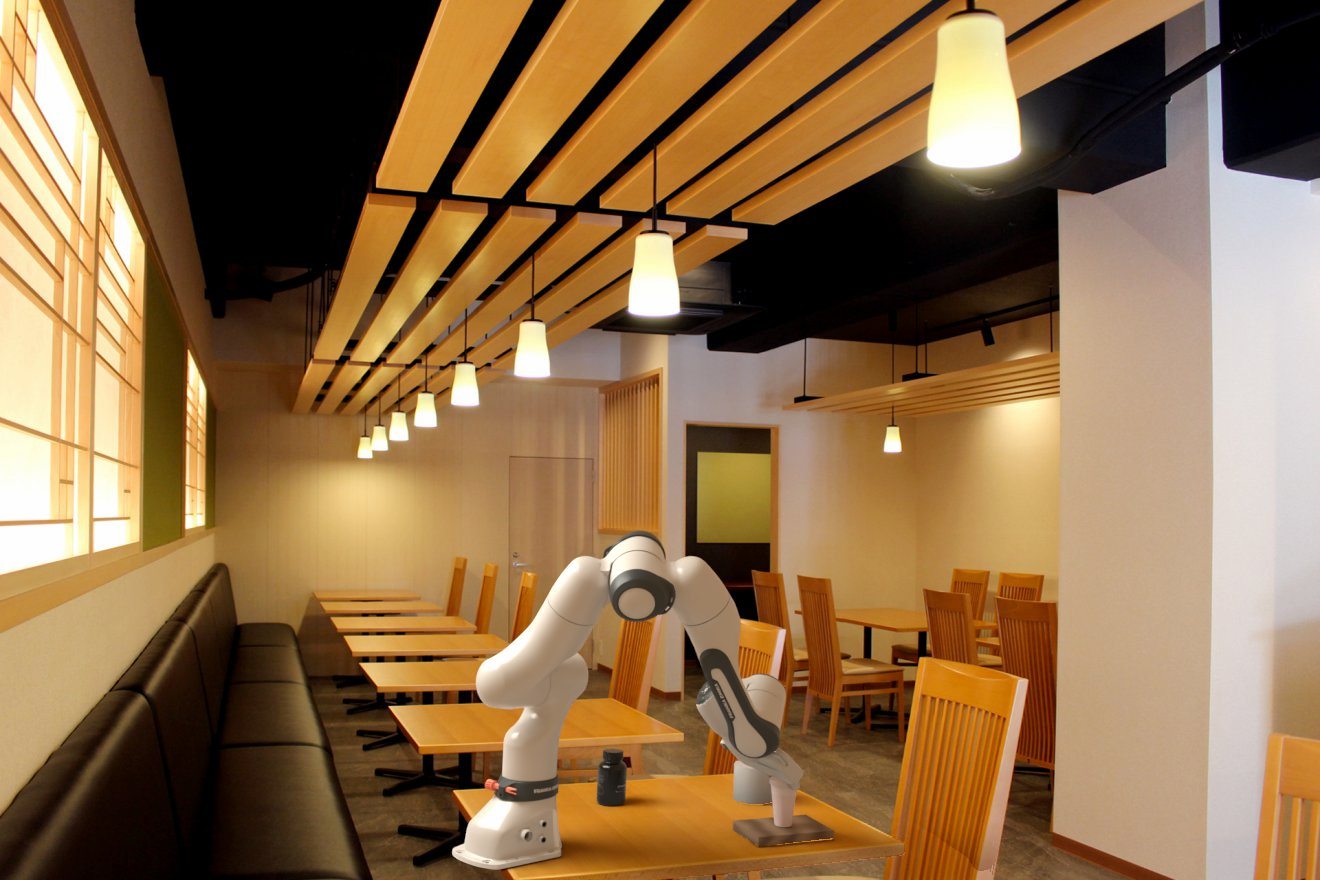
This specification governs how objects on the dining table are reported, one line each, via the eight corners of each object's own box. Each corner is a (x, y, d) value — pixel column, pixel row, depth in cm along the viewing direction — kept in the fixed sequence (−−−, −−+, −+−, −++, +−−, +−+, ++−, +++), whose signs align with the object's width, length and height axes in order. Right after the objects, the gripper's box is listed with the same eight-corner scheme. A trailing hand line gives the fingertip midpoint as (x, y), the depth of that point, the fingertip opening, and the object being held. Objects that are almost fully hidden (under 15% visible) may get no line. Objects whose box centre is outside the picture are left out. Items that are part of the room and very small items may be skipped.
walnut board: (758, 847, 218) (758, 837, 218) (732, 830, 229) (733, 820, 229) (833, 839, 224) (834, 830, 224) (805, 823, 235) (805, 814, 235)
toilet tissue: (790, 798, 256) (791, 762, 256) (753, 807, 247) (754, 770, 247) (762, 790, 262) (763, 755, 263) (725, 799, 253) (726, 762, 254)
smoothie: (797, 821, 230) (799, 756, 230) (798, 830, 223) (800, 763, 224) (767, 819, 230) (769, 754, 231) (768, 828, 224) (770, 761, 225)
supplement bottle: (624, 807, 243) (626, 754, 244) (595, 806, 243) (597, 753, 244) (626, 799, 250) (628, 747, 251) (597, 798, 250) (599, 746, 251)
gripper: (786, 739, 216) (824, 784, 219) (733, 720, 234) (769, 761, 238) (767, 763, 213) (805, 808, 217) (715, 741, 231) (751, 783, 235)
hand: (786, 783), depth 227 cm, fingers closed on smoothie, 6 cm apart
